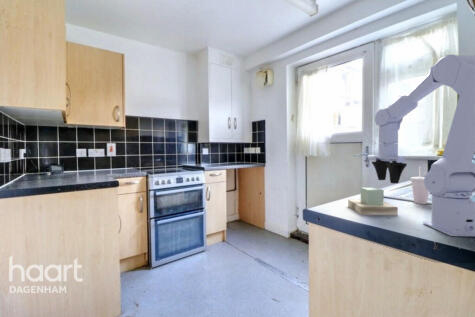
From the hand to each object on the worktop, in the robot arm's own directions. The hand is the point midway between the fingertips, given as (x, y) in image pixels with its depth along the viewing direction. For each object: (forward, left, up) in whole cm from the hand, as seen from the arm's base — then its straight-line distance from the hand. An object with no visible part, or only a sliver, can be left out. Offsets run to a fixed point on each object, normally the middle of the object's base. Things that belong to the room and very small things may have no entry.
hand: (387, 181), depth 80 cm
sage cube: (-3, +7, -7) cm, 11 cm away
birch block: (-3, +7, -10) cm, 13 cm away
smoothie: (+7, -16, -10) cm, 20 cm away
